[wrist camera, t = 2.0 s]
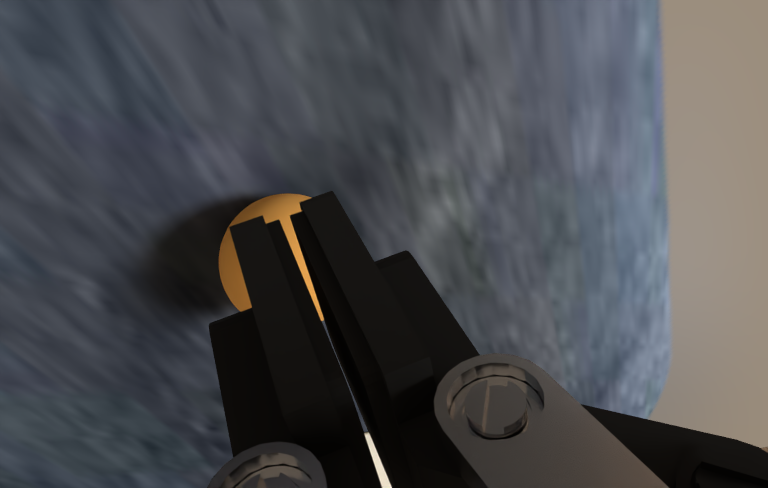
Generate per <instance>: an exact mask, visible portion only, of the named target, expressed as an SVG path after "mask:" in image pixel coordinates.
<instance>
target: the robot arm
mask: <svg viewBox="0 0 768 488" xmlns="http://www.w3.org/2000/svg"><path fill="white" fill-rule="evenodd" d="M299 203H300V208H301V212H298V213H295V214H292V215H290V219H291V222H292V225H293V228H294V231H295V234H296V237H297V240H298V243H299V246H300V249H301V252H302V255H303V258H304V261H305V264H306V267H307V270H308V273H309V276H310V279H311V282H312V285H313V288H314V291H315V294H316V297H317V300H318V303H319V306H320V309H321V312H322V315H323V318H324V321H325V324H326V327H327V330H328V333H329V335H330V338H331V341H332V344H333V347H334V349H335V352H336V354H337V357H338V359H339V362H340V364H341V367H342V369H343V371H344V374H345V376H346V379H347V381H348V383H349V386H350V388H351V391H352V393H353V395H354V398H355V400H356V403H357V405H358V407H359V410H360V412H361V415H362V417H363V419H364V422H365V424H366V427H367V429H368V431H369V434H370V436H371V439H372V441H373V443H374V446H375V448H376V451H377V453H378V456H379V458H380V460H381V463H382V465H383V468H384V470H385V472H386V475H387V477H388V480H389V482H390V484H391V487H392V488H768V447H763V448H759V447H756V446H753V445H750V444H747V443H744V442H741V441H738V440H735V439H731V438H726V437H722V436H718V435H713V434H708V433H704V432H700V431H696V430H691V429H687V428H682V427H678V426H674V425H669V424H665V423H661V422H656V421H652V420H647V419H643V418H639V417H634V416H630V415H625V414H621V413H617V412H612V411H608V410H604V409H599V408H595V407H590V406H586V405H582V404H580V403H578V402H577V401H576V400H575V399H574V398H573V397H572V396H571V395H570V394H569V393H568V392H567V391H566V390H565V389H564V388H562V387H561V386H560V385H559V384H558V383H557V382H556V381H555V380H554V379H553V378H552V377H551V376H550V375H549V374H548V373H546V372H545V371H544V370H543V369H542V368H540V367H539V366H537V365H536V364H534V363H533V362H531V361H530V360H527V359H524V358H521V357H518V356H515V355H509V354H498V353H494V354H487V355H479V353H478V352H477V350H476V349H475V347H474V346H473V344H472V343H471V341H470V340H469V338H468V337H467V336H466V334H465V333H464V331H463V330H462V328H461V327H460V325H459V324H458V322H457V321H456V319H455V318H454V316H453V315H452V313H451V312H450V310H449V309H448V308H447V306H446V305H445V303H444V302H443V300H442V299H441V297H440V296H439V294H438V293H437V291H436V290H435V288H434V287H433V285H432V284H431V283H430V281H429V280H428V278H427V277H426V275H425V274H424V272H423V271H422V269H421V268H420V266H419V265H418V263H417V262H416V260H415V259H414V258H413V256H412V255H411V254H410V253H409V252H408V251H406V250H405V251H403V252H400V253H397V254H395V255H392V256H389V257H386V258H384V259H381V260H378V261H376V262H374V260H373V259H372V257H371V255H370V254H369V252H368V250H367V249H366V247H365V245H364V243H363V242H362V240H361V238H360V237H359V235H358V233H357V231H356V230H355V228H354V226H353V225H352V223H351V221H350V219H349V218H348V216H347V214H346V213H345V211H344V209H343V208H342V206H341V204H340V202H339V201H338V199H337V197H336V196H335V194H334V192H333V191H330V192H327V193H324V194H321V195H319V196H316V197H313V198H310V199H307V200H304V201H301V202H299ZM229 228H230V232H231V236H232V239H233V243H234V246H235V250H236V253H237V257H238V260H239V264H240V267H241V271H242V274H243V278H244V281H245V285H246V288H247V292H248V295H249V299H250V302H251V306H252V308H249V309H247V310H244V311H241V312H239V313H236V314H233V315H231V316H228V317H225V318H223V319H220V320H217V321H214V322H212V323H210V324H209V331H210V337H211V343H212V348H213V353H214V358H215V364H216V369H217V374H218V379H219V385H220V390H221V395H222V400H223V406H224V411H225V416H226V421H227V427H228V432H229V437H230V442H231V448H232V453H233V458H232V459H231V460H230V461H228V462H227V463H225V464H224V466H223V467H222V468H221V469H220V470H219V471H218V472H217V473H216V475H215V476H214V477H213V478H212V479H211V481H210V483H209V485H208V487H207V488H382V485H381V482H380V479H379V476H378V473H377V470H376V467H375V464H374V461H373V458H372V455H371V452H370V449H369V446H368V443H367V440H366V437H365V434H364V431H363V428H362V425H361V422H360V419H359V416H358V413H357V410H356V407H355V404H354V402H353V399H352V396H351V393H350V390H349V388H348V385H347V382H346V380H345V377H344V375H343V372H342V370H341V367H340V365H339V363H338V360H337V358H336V355H335V353H334V350H333V348H332V346H331V343H330V341H329V338H328V336H327V334H326V331H325V329H324V326H323V324H322V321H321V319H320V317H319V314H318V312H317V309H316V307H315V305H314V302H313V300H312V297H311V295H310V292H309V290H308V288H307V285H306V283H305V280H304V278H303V276H302V273H301V271H300V268H299V266H298V263H297V261H296V259H295V256H294V254H293V251H292V249H291V247H290V244H289V242H288V239H287V237H286V234H285V232H284V230H283V227H282V225H281V222H280V220H279V219H278V220H275V221H272V222H269V223H267V224H266V223H265V220H264V217H263V215H261V216H259V217H256V218H253V219H250V220H247V221H244V222H241V223H239V224H236V225H233V226H230V227H229Z"/></svg>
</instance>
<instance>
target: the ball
mask: <svg viewBox="0 0 768 488" xmlns="http://www.w3.org/2000/svg"><path fill="white" fill-rule="evenodd" d="M310 198H311V197H308V196H304V195H299V194H276V195H271V196H268V197H265V198H262V199H260V200H257V201H256V202H254V203H252V204H250V205H249V206H247V207H246V208H245V209H244V210H242V211H241V212H240V213H239V214H238V215H237V216H236V217H235V219H234V220H233V221H232V222H231V224H230V225H229V227H230V226H233V225H236V224H239V223H241V222H244V221H247V220H250V219H253V218H256V217H259V216H261V215H263V217H264V220H265V223H266V224H267V223H269V222H272V221H275V220H278V219H279V220H280V222H281V225H282V227H283V230H284V232H285V234H286V237H287V239H288V242H289V244H290V247H291V249H292V251H293V254H294V256H295V259H296V261H297V263H298V266H299V268H300V271H301V273H302V276H303V278H304V280H305V283H306V285H307V288H308V290H309V292H310V295H311V297H312V300H313V302H314V305H315V307H316V309H317V312H318V314H319V317H320V319H321V321H322V320H324V318H323V315H322V312H321V309H320V306H319V303H318V300H317V297H316V294H315V291H314V288H313V285H312V282H311V279H310V276H309V273H308V270H307V267H306V264H305V261H304V258H303V255H302V252H301V249H300V246H299V243H298V240H297V237H296V234H295V231H294V228H293V225H292V222H291V219H290V215H292V214H295V213H298V212H301V208H300V203H299V202H301V201H304V200H307V199H310ZM229 227H228V228H227V231H226V233H225V235H224V237H223V240H222V243H221V246H220V252H219V272H220V278H221V281H222V284H223V287H224V290H225V292H226V294H227V295H228V297H229V299H230V300H231V302H232V303H233V304H234V306H235V307H236V308H237V309H238V310H239V311H240V312H241V311H244V310H247V309H249V308H252V306H251V302H250V299H249V295H248V292H247V288H246V285H245V281H244V278H243V274H242V271H241V267H240V264H239V260H238V257H237V253H236V250H235V246H234V243H233V239H232V236H231V232H230V228H229Z"/></svg>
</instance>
